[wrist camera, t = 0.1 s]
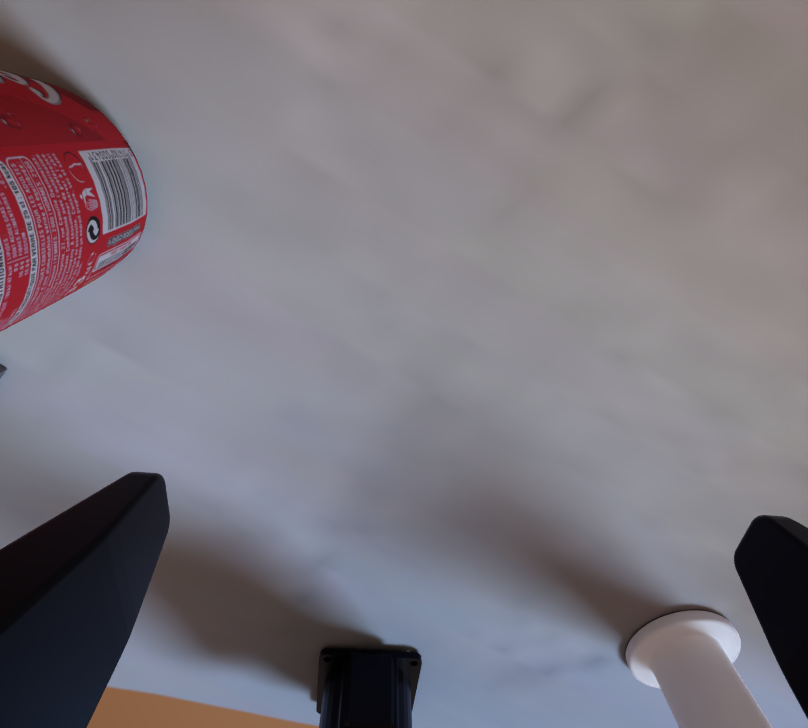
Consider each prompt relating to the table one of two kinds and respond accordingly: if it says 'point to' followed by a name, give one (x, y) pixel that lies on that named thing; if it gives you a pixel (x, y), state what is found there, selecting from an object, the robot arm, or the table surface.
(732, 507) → the table surface
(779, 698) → the table surface
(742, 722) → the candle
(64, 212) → the soda can
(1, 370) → the charcoal mat
